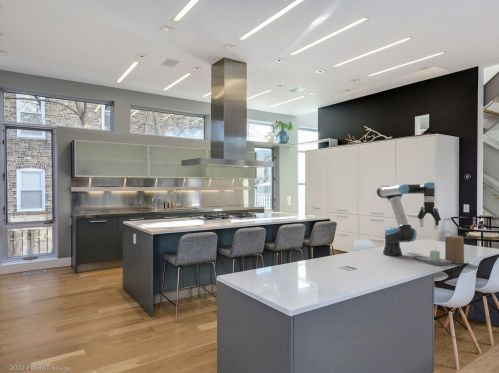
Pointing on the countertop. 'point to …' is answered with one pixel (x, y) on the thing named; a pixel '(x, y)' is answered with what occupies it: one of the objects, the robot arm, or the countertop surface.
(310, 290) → the countertop surface
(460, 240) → the block
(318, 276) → the countertop surface
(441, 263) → the plate
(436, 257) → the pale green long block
